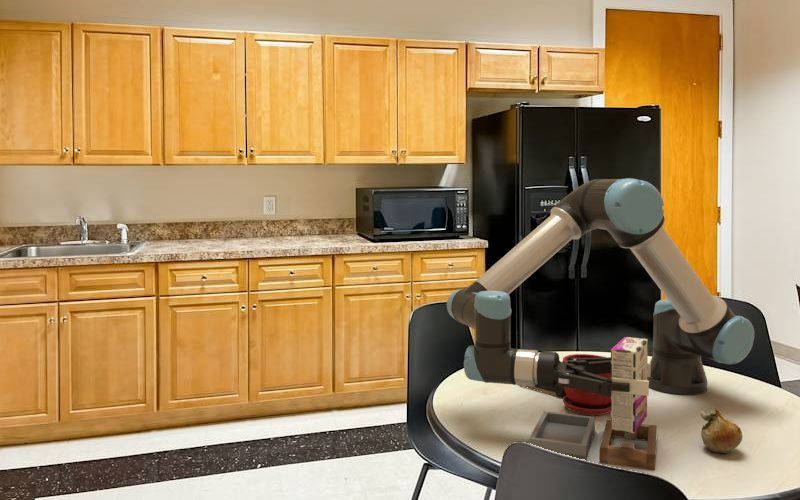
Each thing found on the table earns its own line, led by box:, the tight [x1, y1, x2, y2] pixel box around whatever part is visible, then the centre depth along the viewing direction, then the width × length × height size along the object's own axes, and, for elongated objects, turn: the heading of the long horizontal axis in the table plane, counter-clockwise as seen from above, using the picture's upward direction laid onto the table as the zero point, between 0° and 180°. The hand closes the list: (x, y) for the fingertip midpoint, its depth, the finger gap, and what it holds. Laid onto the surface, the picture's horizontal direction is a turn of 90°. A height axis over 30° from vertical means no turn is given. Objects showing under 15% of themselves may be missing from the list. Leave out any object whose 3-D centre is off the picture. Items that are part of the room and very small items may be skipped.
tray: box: [528, 410, 596, 461], centre depth 140 cm, size 11×17×3 cm, turn 158°
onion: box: [699, 409, 743, 454], centre depth 134 cm, size 8×8×8 cm
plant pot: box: [561, 353, 611, 416], centre depth 159 cm, size 13×13×12 cm
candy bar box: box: [610, 336, 649, 434], centre depth 134 cm, size 11×5×16 cm, turn 148°
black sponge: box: [519, 382, 567, 399], centre depth 175 cm, size 16×8×4 cm, turn 41°
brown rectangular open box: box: [598, 418, 658, 471], centre depth 135 cm, size 10×16×4 cm, turn 158°
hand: (649, 378), depth 132 cm, fingers closed on candy bar box, 11 cm apart
